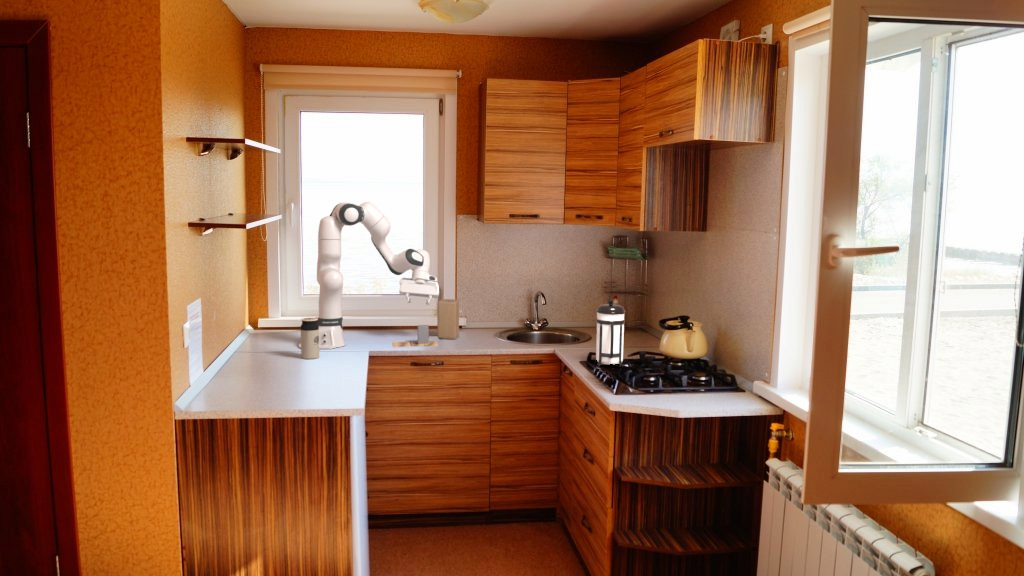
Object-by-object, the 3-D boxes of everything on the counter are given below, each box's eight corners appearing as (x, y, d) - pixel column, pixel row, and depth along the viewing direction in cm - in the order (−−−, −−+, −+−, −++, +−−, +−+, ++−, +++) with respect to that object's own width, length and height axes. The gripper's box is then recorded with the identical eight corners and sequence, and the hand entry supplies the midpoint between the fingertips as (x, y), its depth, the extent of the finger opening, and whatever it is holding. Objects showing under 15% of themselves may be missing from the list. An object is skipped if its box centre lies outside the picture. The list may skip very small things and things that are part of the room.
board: (393, 349, 370) (392, 346, 369) (392, 345, 381) (392, 342, 381) (438, 348, 374) (438, 345, 374) (436, 344, 386) (436, 341, 385)
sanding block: (418, 344, 375) (418, 326, 374) (417, 342, 380) (417, 325, 379) (428, 344, 376) (428, 326, 375) (427, 342, 381) (427, 324, 380)
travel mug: (297, 357, 349) (296, 319, 347) (311, 355, 355) (310, 316, 353) (309, 360, 344) (308, 320, 342) (322, 357, 351) (322, 318, 349)
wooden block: (459, 336, 408) (459, 299, 406) (455, 339, 398) (456, 301, 396) (440, 335, 409) (440, 298, 407) (437, 339, 399) (437, 301, 397)
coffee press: (583, 364, 342) (585, 298, 338) (609, 360, 351) (611, 295, 348) (611, 371, 328) (613, 302, 325) (637, 367, 338) (639, 300, 334)
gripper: (400, 274, 389) (398, 298, 382) (440, 278, 392) (438, 302, 385) (399, 280, 394) (397, 304, 388) (439, 284, 397) (437, 307, 391)
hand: (418, 303), depth 387 cm, fingers open, 8 cm apart
